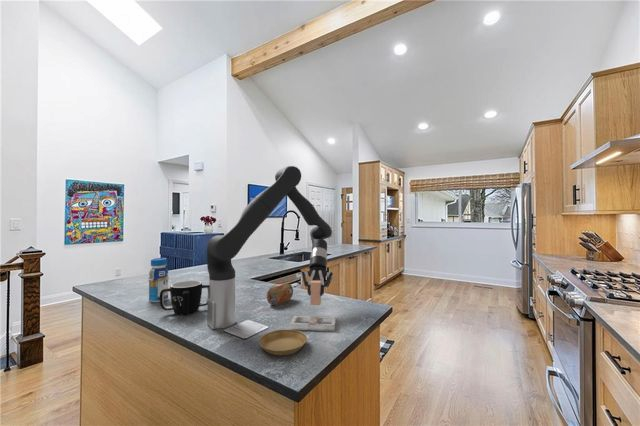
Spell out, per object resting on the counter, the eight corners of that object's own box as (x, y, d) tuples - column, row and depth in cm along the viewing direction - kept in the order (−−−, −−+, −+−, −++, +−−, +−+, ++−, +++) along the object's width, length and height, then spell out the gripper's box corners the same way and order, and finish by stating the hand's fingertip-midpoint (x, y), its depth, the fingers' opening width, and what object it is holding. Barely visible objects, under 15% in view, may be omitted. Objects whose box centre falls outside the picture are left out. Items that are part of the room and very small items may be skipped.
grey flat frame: (289, 329, 97) (289, 323, 97) (293, 320, 105) (293, 315, 105) (334, 331, 95) (334, 325, 95) (335, 322, 103) (335, 316, 103)
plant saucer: (250, 346, 85) (250, 337, 85) (289, 333, 94) (289, 325, 95) (274, 365, 74) (274, 356, 74) (316, 348, 83) (316, 340, 83)
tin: (270, 307, 120) (270, 288, 121) (265, 306, 122) (265, 287, 122) (293, 299, 132) (293, 282, 133) (288, 298, 134) (288, 281, 134)
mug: (156, 314, 112) (156, 285, 112) (190, 303, 126) (190, 277, 126) (181, 321, 104) (181, 290, 105) (215, 309, 119) (215, 281, 119)
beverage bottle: (149, 298, 134) (150, 258, 135) (169, 296, 138) (169, 257, 138) (147, 303, 127) (147, 260, 127) (167, 301, 130) (168, 259, 130)
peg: (320, 305, 109) (320, 282, 109) (310, 304, 109) (310, 282, 109) (321, 302, 113) (321, 280, 113) (311, 301, 113) (311, 280, 113)
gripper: (301, 254, 119) (296, 289, 107) (334, 255, 118) (332, 290, 106) (303, 264, 125) (299, 299, 112) (334, 265, 123) (333, 300, 111)
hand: (315, 294), depth 109 cm, fingers closed on peg, 4 cm apart
